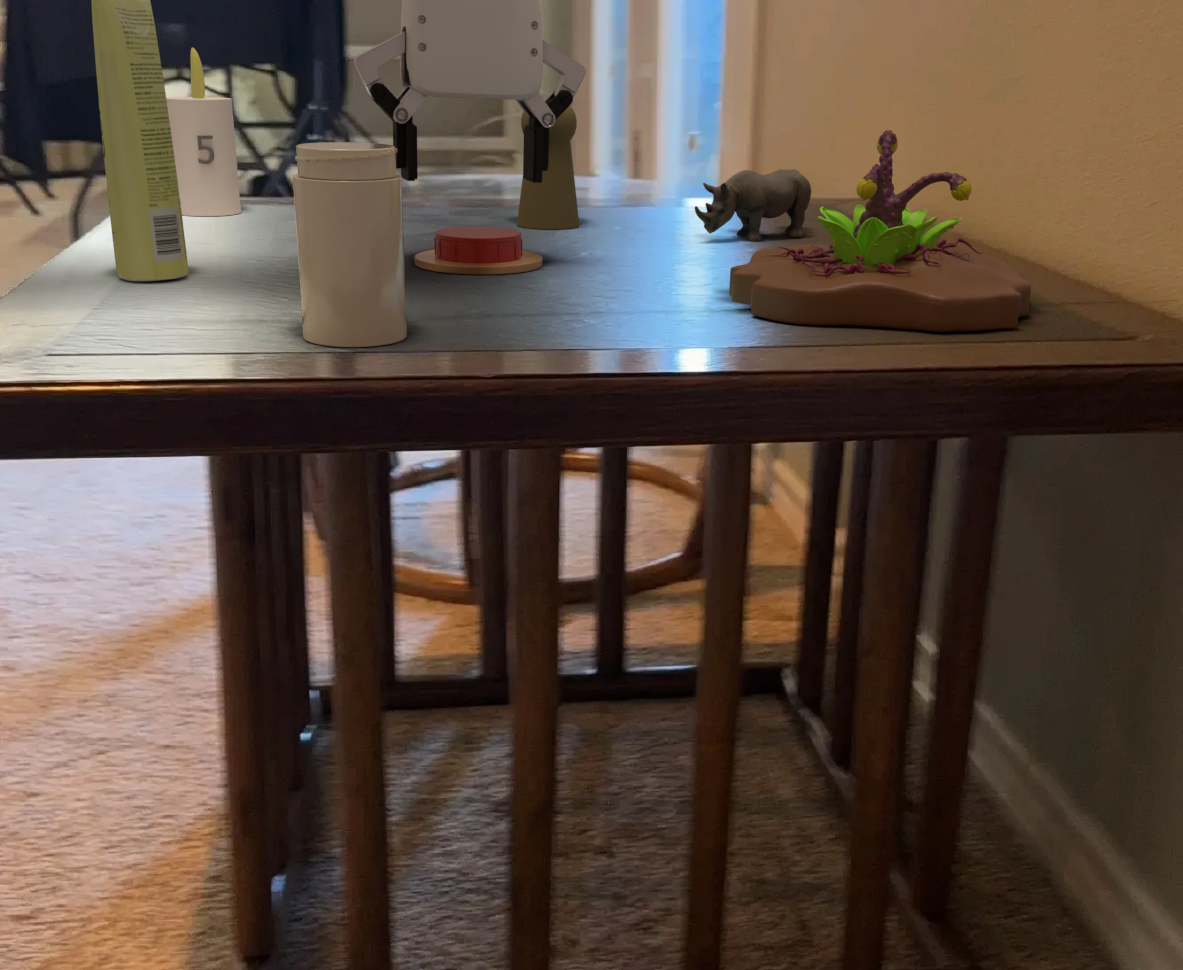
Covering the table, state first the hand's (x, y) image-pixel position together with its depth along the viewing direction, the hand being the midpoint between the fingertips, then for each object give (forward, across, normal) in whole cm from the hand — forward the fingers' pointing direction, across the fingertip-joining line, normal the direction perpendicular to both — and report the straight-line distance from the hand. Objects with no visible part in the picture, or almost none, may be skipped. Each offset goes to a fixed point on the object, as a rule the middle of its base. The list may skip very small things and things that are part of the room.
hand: (471, 180), depth 98 cm
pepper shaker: (+6, -13, -22) cm, 26 cm away
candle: (+7, +18, -36) cm, 41 cm away
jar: (+7, +13, +25) cm, 29 cm away
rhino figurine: (+6, -29, -11) cm, 31 cm away
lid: (+4, -1, 0) cm, 4 cm away
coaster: (+6, -1, 0) cm, 6 cm away
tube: (+7, +24, +2) cm, 25 cm away
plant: (+6, -24, +21) cm, 32 cm away
